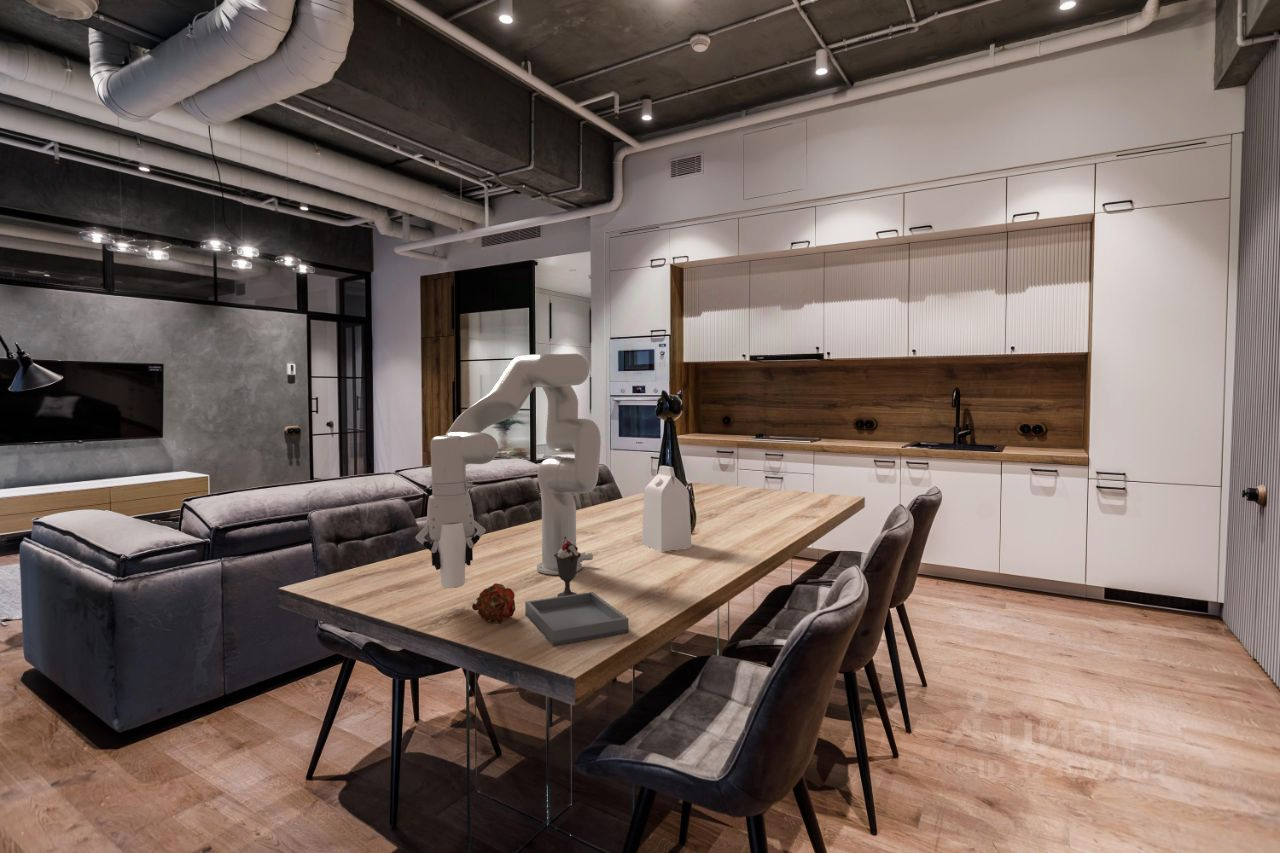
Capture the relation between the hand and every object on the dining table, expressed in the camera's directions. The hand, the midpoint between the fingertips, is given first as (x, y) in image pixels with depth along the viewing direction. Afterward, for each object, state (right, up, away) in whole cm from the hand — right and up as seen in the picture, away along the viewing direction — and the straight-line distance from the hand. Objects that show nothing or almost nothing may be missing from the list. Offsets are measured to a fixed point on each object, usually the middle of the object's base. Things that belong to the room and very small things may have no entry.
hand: (452, 565), depth 148 cm
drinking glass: (0, -5, 0) cm, 5 cm away
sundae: (+26, -9, +8) cm, 28 cm away
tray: (+29, -10, -11) cm, 33 cm away
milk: (+52, -7, +59) cm, 79 cm away
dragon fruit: (+12, -10, -9) cm, 18 cm away
